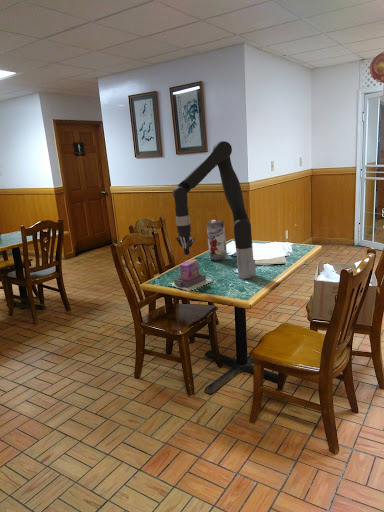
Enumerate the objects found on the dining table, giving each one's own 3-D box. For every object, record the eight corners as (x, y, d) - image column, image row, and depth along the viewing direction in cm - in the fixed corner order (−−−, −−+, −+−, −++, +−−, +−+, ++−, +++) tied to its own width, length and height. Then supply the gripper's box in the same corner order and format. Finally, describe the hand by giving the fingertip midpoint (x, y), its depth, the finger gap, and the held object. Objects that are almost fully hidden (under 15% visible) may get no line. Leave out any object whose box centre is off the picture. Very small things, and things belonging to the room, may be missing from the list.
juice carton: (214, 257, 269) (210, 218, 262) (228, 257, 264) (224, 218, 257) (208, 261, 262) (204, 221, 254) (223, 261, 257) (219, 221, 250)
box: (189, 286, 216) (187, 265, 213) (181, 284, 219) (178, 264, 216) (200, 279, 224) (198, 260, 221) (192, 278, 227) (189, 259, 224)
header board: (213, 281, 222) (212, 274, 221) (189, 292, 210) (189, 284, 209) (191, 276, 235) (190, 270, 233) (168, 286, 223) (167, 279, 222)
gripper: (196, 223, 211) (200, 254, 215) (180, 221, 220) (183, 251, 225) (186, 226, 206) (190, 257, 211) (170, 224, 215) (174, 254, 220)
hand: (186, 254), depth 218 cm, fingers closed
